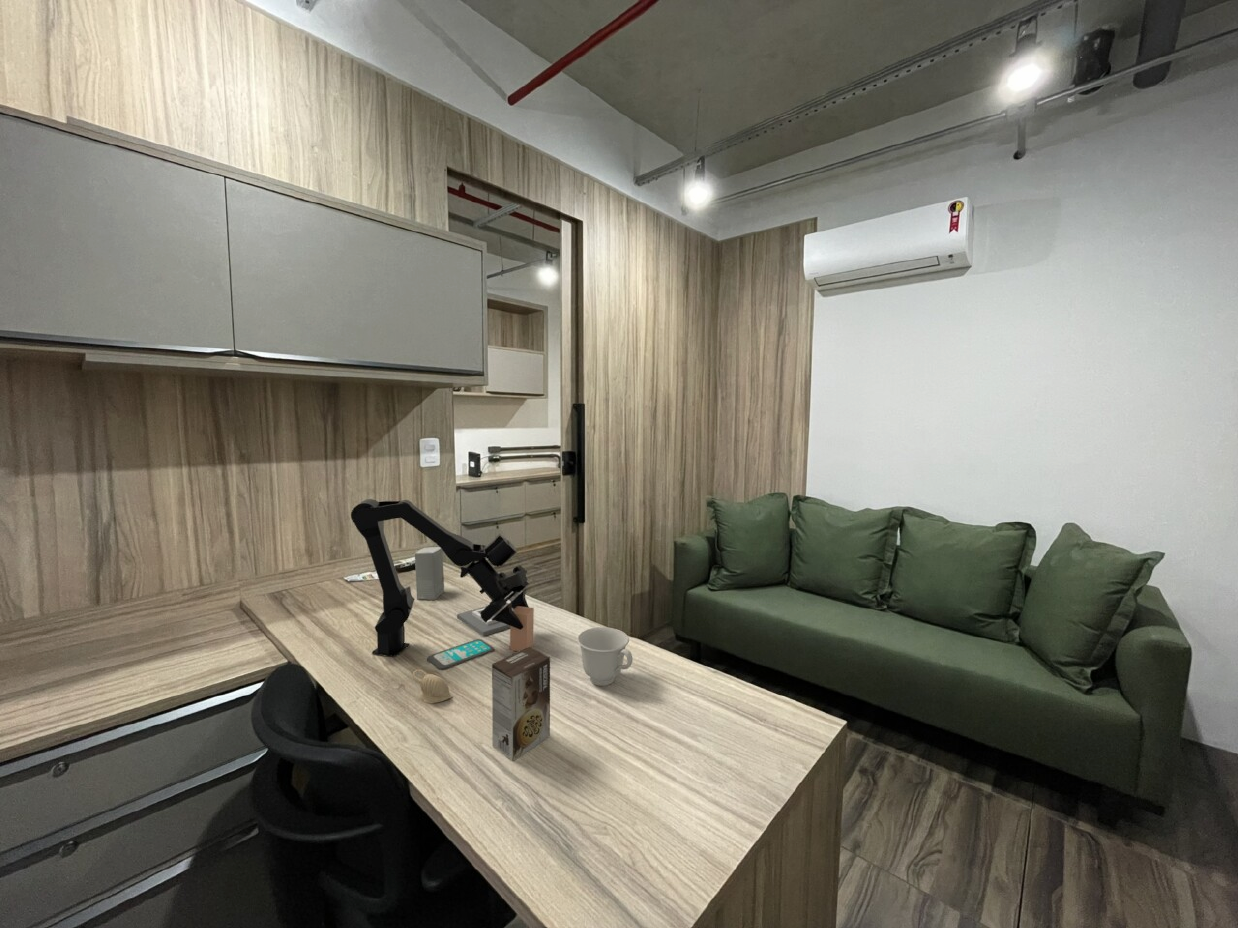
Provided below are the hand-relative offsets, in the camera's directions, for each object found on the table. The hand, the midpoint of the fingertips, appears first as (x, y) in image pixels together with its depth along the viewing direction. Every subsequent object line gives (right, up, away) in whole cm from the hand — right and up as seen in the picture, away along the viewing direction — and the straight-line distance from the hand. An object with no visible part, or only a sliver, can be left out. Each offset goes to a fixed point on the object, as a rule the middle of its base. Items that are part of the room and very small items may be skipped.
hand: (527, 623), depth 127 cm
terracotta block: (-2, -7, +1) cm, 7 cm away
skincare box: (-39, -2, +35) cm, 52 cm away
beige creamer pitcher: (-16, -9, -22) cm, 29 cm away
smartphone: (-16, -7, -4) cm, 18 cm away
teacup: (+21, -9, -15) cm, 27 cm away
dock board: (-13, -5, +17) cm, 22 cm away
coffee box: (+6, -11, -36) cm, 38 cm away
